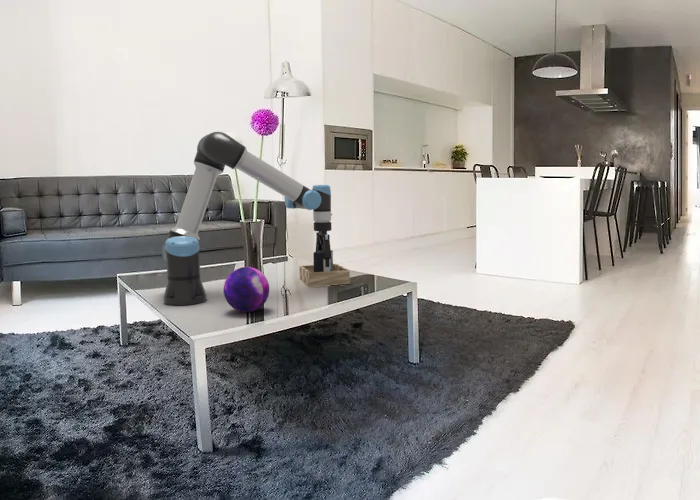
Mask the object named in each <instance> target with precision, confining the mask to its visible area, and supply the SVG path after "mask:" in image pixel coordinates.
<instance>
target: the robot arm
mask: <svg viewBox="0 0 700 500" xmlns="http://www.w3.org/2000/svg"><path fill="white" fill-rule="evenodd" d="M196 147H197V148H196V153H195V157H194V160H193V165H194V166H195V169H194V173H193V174H192V178H191V182H190V184H189V187H188V190H187V193H186V195H185V198H184V200H183V204H182V207H181V211H180V213H179V216H178V218H177V222H176V225H175V227H172V228H171V229H169V233H168V235H167V238H166V241H164V243H163V245H162V249H161V255H162V256H161V257H162V258H163V260H164V262H165V263H166V274H167V283H166V287H165V290H164V294H163V304H165V305H168V306H189V305H196V304H200V303H204V302H206V301H207V300H208V299H207V298H208V297H207V293H206V289H205V287H204V284H203V282H202V278H201V277H202V276H201V261H200V260H201V259H200V249H201V247H200V240H201V238H200V235H199V231H200V227H201V225H202V222H203V218H204V216H205V213H206V210H207V208H208V205H209V201H210V199H211V195H212V193H213V189H214V187H215V184H216V181H217V178H218V176H219V175H221V174H223V173H224V170H225V167H228V168H230V169H231V170H235V169H237V170H239V171H240V172H242V173H244V174H246V175H247V176H249V177H250V178H252V179H254V180H256V181H257V182H259V183H261V184H263V185H264V186H266V187H267V188H269V189H272V190H273V191H275V192H276V193H278V194H280V195H282V196H283V199H284V205H285V207H286V209H301V210H302V209H303V210H307V211H312V215H313V219H312V220H313V221H314V223H313V231H314V232H315V234H316V236H315V237H316V238H315V240H316V241H315V251H314V252H316V251H318V250H323V255H324V257H323V266H324V272H327V271H330V258H331V257H332V256H331V242H330V238H331V236H330V234H328V232H331V231H332V222H331V221H332V216H333V213H332V205H331V204H332V193H331V186H330V185H329V184H313V185H312V189H310V188H309V187H307V186H306V185H303V184H302V183H301V182H298V181H297V180H295V179H294V178H292V177H290V176H289V175H287V174H285V173H284V172H283V171H280V170H279V169H278V168H275V167H274V166H273V165H271V164H269V163H267V162H266V161H265V160H263V159H261V158H260V157H257V156H256V155H254V154H252V153H251V152H249V151H248V149H247V147H246V146H245V145H243V144H241V143H240V142H239V141H237V140H236V139H235V138H233V137H231V136H230V135H228V134H226V133H225V132H223V131H213V132H211V133H209V134H206V135H204V136H203V137H201V138H200V140H199V142H198V143H197V146H196ZM258 177H259V178H258Z"/></svg>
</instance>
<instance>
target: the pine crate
mask: <svg viewBox="0 0 700 500" xmlns="http://www.w3.org/2000/svg"><path fill="white" fill-rule="evenodd" d="M298 271H299V280H300V281H301V282H302V281H303V282H304V284H305V285H306V286H307V287H308V288H309V287H310V288H309V289H311V288H322V287H323V286H326V287H331V286H330V285H337V284H347V283H350V284H351V279H350V278H351V275H350V274H351V273H350V272H351V271H350V270H349V269H348V268H345V267H343V266H342V265H339V264H338V263H333V271H327V272H314V264H309V265H299V270H298ZM303 282H302V283H303ZM323 288H324V287H323Z"/></svg>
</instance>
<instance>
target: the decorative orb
mask: <svg viewBox="0 0 700 500" xmlns="http://www.w3.org/2000/svg"><path fill="white" fill-rule="evenodd" d="M269 294H270V284H269V280H268V279H267V277H266V275H265V274H264V273H263V272H262V271H260V270H259V269H257V268H255V267H251V266H243V267H238V268H236V269H234V270H233V271H232V272H231V273H229V275H228V276H227V277H226V279H225V281H224V285H223V296H224V298H225V301H226V302H227V304H228V305H229V306H230V307H231V308H232V309H234V310H236V311H239V312H242V313H251V312H254V311H257V310H258V309H260V308H261V307H263V306H264V305H265V303H266V302H267V300H268V298H269V296H270V295H269Z"/></svg>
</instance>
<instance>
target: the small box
mask: <svg viewBox="0 0 700 500" xmlns="http://www.w3.org/2000/svg"><path fill="white" fill-rule="evenodd" d="M315 251H316V250H315ZM315 251H314V252H313V256H312V257H313V265H314V272H324V266H323V257H324V255H323V250H318V251H316V252H315ZM333 253H334V250H331V256H332V257H331V258H330V271H333V264H334V256H333V255H334V254H333Z"/></svg>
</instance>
